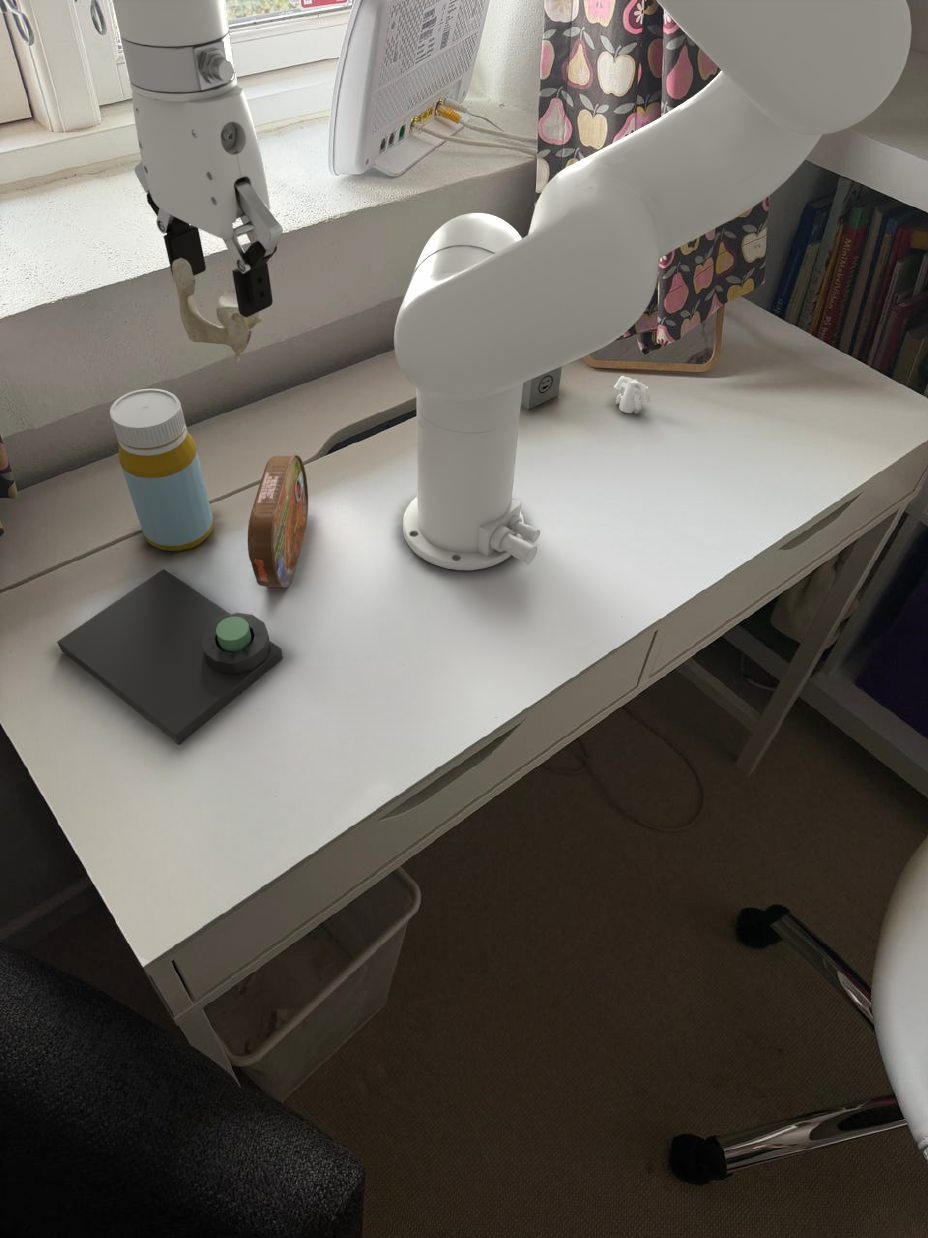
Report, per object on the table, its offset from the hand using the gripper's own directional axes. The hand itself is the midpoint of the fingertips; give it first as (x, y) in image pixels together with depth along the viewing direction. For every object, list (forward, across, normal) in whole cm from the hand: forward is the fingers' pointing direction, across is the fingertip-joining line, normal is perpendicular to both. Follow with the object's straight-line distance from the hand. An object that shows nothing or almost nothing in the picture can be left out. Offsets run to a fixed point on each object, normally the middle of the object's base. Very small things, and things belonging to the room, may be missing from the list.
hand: (222, 291), depth 76 cm
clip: (+24, -19, -41) cm, 52 cm away
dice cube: (+24, -9, -36) cm, 44 cm away
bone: (+5, 0, 0) cm, 5 cm away
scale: (+24, -10, +19) cm, 32 cm away
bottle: (+24, +3, +8) cm, 26 cm away
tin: (+24, -7, +3) cm, 25 cm away
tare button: (+21, -15, +15) cm, 30 cm away
